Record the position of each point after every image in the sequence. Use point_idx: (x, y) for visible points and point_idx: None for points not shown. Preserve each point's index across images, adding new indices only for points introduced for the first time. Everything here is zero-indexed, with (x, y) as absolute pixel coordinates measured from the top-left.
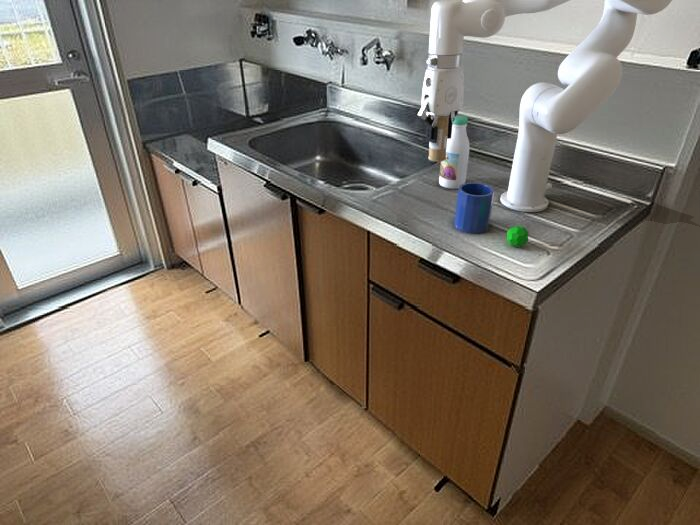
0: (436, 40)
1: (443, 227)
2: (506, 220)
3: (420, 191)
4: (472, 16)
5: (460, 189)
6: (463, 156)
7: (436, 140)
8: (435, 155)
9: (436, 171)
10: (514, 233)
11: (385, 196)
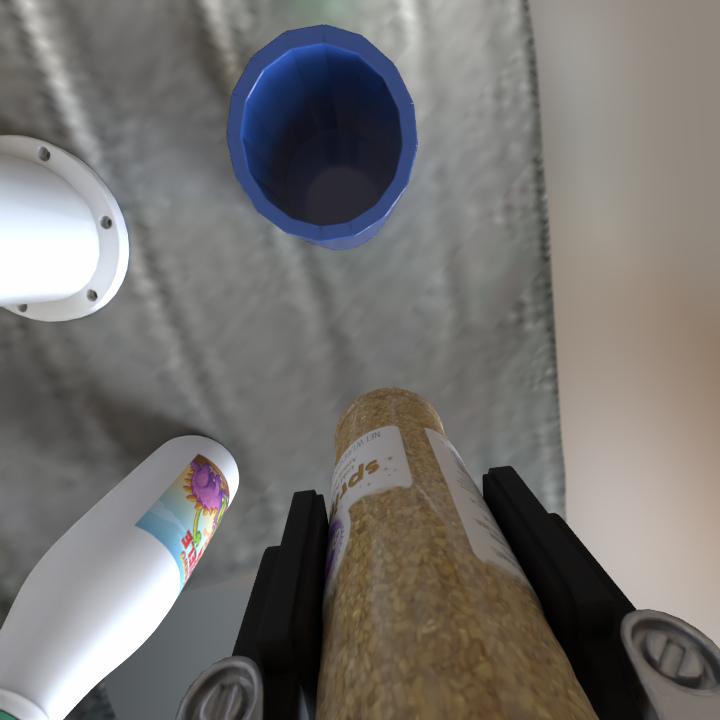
0: None
1: (426, 229)
2: (195, 154)
3: (323, 475)
4: None
5: (400, 182)
6: (119, 509)
7: (502, 476)
8: (438, 425)
9: None
10: None
11: None
